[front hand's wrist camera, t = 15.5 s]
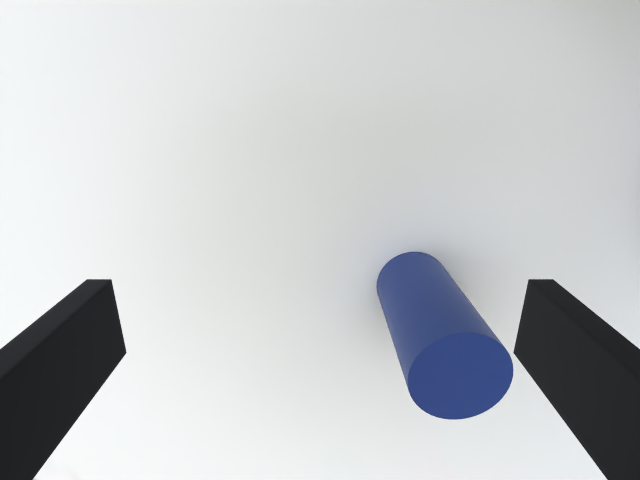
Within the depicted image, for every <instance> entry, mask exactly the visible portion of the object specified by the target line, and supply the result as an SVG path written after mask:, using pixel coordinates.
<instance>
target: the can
mask: <svg viewBox="0 0 640 480" xmlns="http://www.w3.org/2000/svg"><path fill="white" fill-rule="evenodd" d="M377 293H378V296H379V300H380V303H381V306H382V309H383V312H384V315H385V318H386V321H387V324H388V328H389V331H390V334H391V337H392V340H393V343H394V346H395V349H396V352H397V356H398V359H399V362H400V365H401V368H402V371H403V374H404V377H405V381H406V384H407V387H408V390H409V393H410V395H411V397H412V399H413V401H414V402H415V403H416V404H417V405H418V406H419V407H420V408H421V409H422V410H424V411H425V412H426V413H428V414H430V415H433V416H435V417H439V418H443V419H464V418H469V417H473V416H476V415H479V414H481V413H483V412H485V411H487V410H489V409H490V408H492V407H493V406H494V405H495V404H497V403H498V402H499V401H500V400H501V399H502V398H503V396H504V395H505V394H506V392H507V390H508V389H509V387H510V384H511V381H512V377H513V364H512V360H511V357H510V355H509V353H508V352H507V350H506V349H505V347H504V346H503V345H502V343H501V342H500V341H499V339H498V338H497V337H496V335H495V334H494V333H493V331H492V330H491V329H490V328H489V326H488V325H487V324H486V322H485V321H484V320H483V318H482V317H481V316H480V314H479V313H478V312H477V310H476V309H475V308H474V307H473V305H472V304H471V303H470V301H469V300H468V299H467V297H466V296H465V295H464V293H463V292H462V291H461V289H460V288H459V287H458V286H457V284H456V283H455V282H454V280H453V279H452V278H451V276H450V275H449V274H448V272H447V271H446V270H445V268H444V267H443V266H442V264H441V263H440V262H439V261H438V260H437V259H435V258H434V257H432V256H430V255H428V254H425V253H420V252H410V253H405V254H401V255H399V256H397V257H395V258H393V259H392V260H390V261H389V262H388V263H387V264H386V265H385V266H384V267H383V269H382V270H381V272H380V274H379V277H378V280H377Z"/></svg>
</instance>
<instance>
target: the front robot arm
mask: <svg viewBox="0 0 640 480" xmlns="http://www.w3.org/2000/svg"><path fill="white" fill-rule="evenodd" d="M125 354H126V348H125V343H124V339H123V334H122V329H121V324H120V319H119V314H118V309H117V305H116V300H115V295H114V290H113V285H112V280H111V279H87V280H86V281H84V282H83V283H82V284H81V285H80V286H78V287H77V288H76V289H75V290H73V291H72V292H71V293H70V294H68V295H67V296H66V297H65V298H63V299H62V300H61V301H60V302H58V303H57V304H56V305H55V306H53V307H52V308H51V309H50V310H49V311H47V312H46V313H45V314H44V315H42V316H41V317H40V318H39V319H37V320H36V321H35V322H34V323H32V324H31V325H30V326H29V327H27V328H26V329H25V330H24V331H22V332H21V333H20V334H19V335H18V336H16V337H15V338H14V339H13V340H11V341H10V342H9V343H8V344H6V345H5V346H4V347H3V348H1V349H0V480H32V479H33V478H34V477H35V475H36V474H37V473H38V471H39V470H40V469H41V467H42V466H43V465H44V463H45V462H46V461H47V459H48V458H49V457H50V455H51V454H52V453H53V451H54V450H55V448H56V447H57V446H58V444H59V443H60V442H61V440H62V439H63V438H64V436H65V435H66V434H67V432H68V431H69V430H70V428H71V427H72V426H73V424H74V423H75V421H76V420H77V419H78V417H79V416H80V415H81V413H82V412H83V411H84V409H85V408H86V407H87V405H88V404H89V403H90V401H91V400H92V399H93V397H94V396H95V394H96V393H97V392H98V390H99V389H100V388H101V386H102V385H103V384H104V382H105V381H106V380H107V378H108V377H109V376H110V374H111V373H112V372H113V370H114V369H115V367H116V366H117V365H118V363H119V362H120V361H121V359H122V358H123V357H124V355H125ZM514 354H515V355H516V357H517V358H518V359H519V361H520V362H521V363H522V365H523V366H524V367H525V369H526V370H527V372H528V373H529V374H530V376H531V377H532V378H533V380H534V381H535V382H536V384H537V385H538V386H539V388H540V389H541V390H542V392H543V393H544V394H545V396H546V397H547V399H548V400H549V401H550V403H551V404H552V405H553V407H554V408H555V409H556V411H557V412H558V413H559V415H560V416H561V417H562V419H563V420H564V421H565V423H566V424H567V426H568V427H569V428H570V430H571V431H572V432H573V434H574V435H575V436H576V438H577V439H578V440H579V442H580V443H581V444H582V446H583V447H584V448H585V450H586V451H587V453H588V454H589V455H590V457H591V458H592V459H593V461H594V462H595V463H596V465H597V466H598V467H599V469H600V470H601V471H602V473H603V474H604V475H605V477H606V478H607V480H640V349H639V348H637V347H636V346H635V345H634V344H632V343H631V342H630V341H629V340H627V339H626V338H625V337H624V336H622V335H621V334H620V333H619V332H618V331H616V330H615V329H614V328H613V327H611V326H610V325H609V324H608V323H606V322H605V321H604V320H603V319H601V318H600V317H599V316H598V315H596V314H595V313H594V312H593V311H591V310H590V309H589V308H588V307H587V306H585V305H584V304H583V303H582V302H580V301H579V300H578V299H577V298H575V297H574V296H573V295H572V294H570V293H569V292H568V291H567V290H565V289H564V288H563V287H562V286H560V285H559V284H558V283H557V282H556V281H554V280H553V279H529V280H528V285H527V290H526V295H525V300H524V305H523V309H522V314H521V319H520V324H519V329H518V334H517V339H516V343H515V348H514Z"/></svg>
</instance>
